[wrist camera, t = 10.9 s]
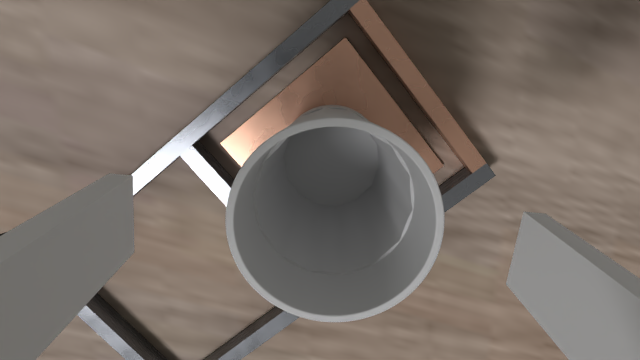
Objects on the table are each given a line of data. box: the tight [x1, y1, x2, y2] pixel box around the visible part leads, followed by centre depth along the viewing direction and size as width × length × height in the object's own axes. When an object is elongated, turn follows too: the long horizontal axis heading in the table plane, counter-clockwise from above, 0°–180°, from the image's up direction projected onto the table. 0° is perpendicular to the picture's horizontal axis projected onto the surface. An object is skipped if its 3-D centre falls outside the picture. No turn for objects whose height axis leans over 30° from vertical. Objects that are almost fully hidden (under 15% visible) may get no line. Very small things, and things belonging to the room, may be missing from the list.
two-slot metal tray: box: [77, 0, 496, 360], centre depth 28 cm, size 27×14×2 cm, turn 129°
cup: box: [226, 105, 444, 322], centre depth 22 cm, size 8×8×12 cm
